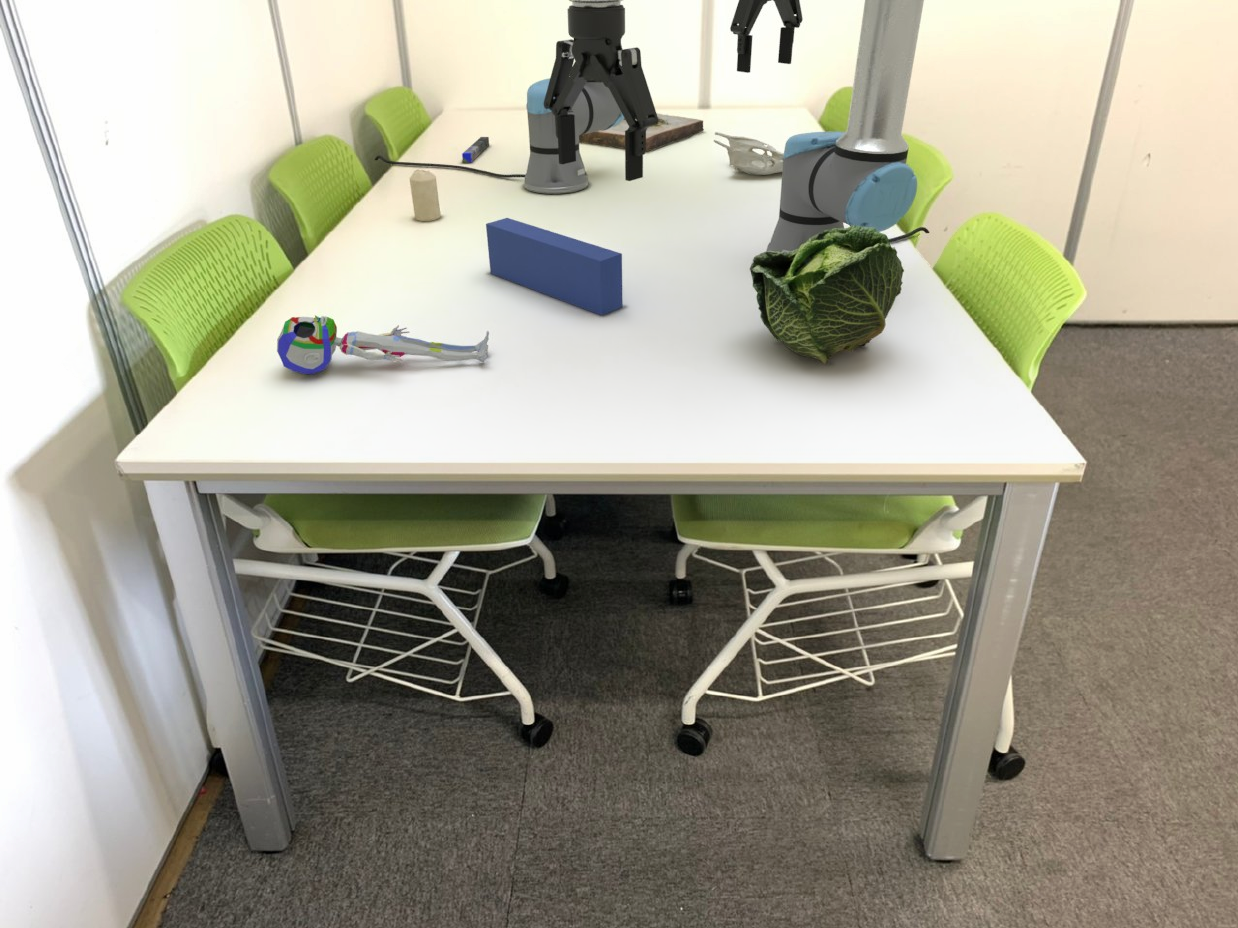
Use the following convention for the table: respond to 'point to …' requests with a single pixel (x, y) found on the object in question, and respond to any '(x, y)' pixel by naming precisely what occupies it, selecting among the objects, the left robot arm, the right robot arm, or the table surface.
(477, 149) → the pillar
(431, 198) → the candle
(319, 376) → the table surface
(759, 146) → the anatomical model
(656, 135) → the plaque
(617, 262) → the bar
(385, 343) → the toy
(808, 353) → the vegetable
